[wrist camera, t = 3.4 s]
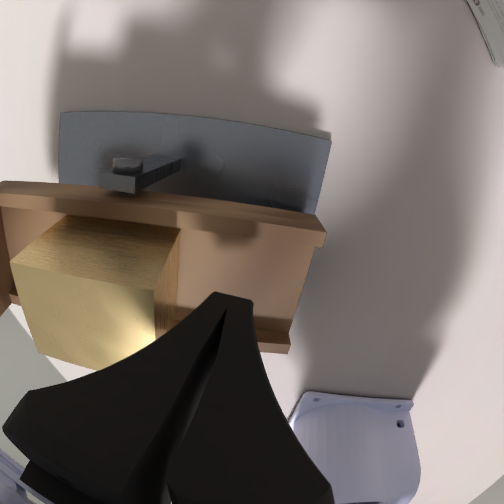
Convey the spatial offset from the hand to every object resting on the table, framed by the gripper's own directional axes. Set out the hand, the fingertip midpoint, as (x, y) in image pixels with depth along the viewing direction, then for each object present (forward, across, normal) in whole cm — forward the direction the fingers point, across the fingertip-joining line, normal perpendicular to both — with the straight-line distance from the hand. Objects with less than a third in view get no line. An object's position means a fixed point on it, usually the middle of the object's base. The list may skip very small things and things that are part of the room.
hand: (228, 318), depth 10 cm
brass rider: (+2, +5, 0) cm, 5 cm away
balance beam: (+4, +5, 0) cm, 7 cm away
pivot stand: (+6, +5, 0) cm, 8 cm away
